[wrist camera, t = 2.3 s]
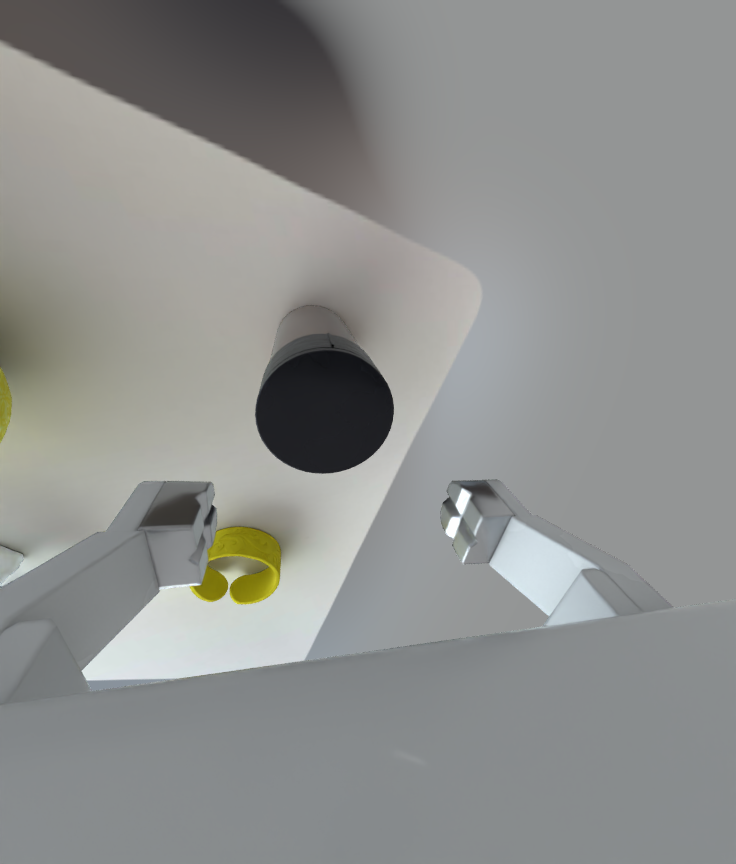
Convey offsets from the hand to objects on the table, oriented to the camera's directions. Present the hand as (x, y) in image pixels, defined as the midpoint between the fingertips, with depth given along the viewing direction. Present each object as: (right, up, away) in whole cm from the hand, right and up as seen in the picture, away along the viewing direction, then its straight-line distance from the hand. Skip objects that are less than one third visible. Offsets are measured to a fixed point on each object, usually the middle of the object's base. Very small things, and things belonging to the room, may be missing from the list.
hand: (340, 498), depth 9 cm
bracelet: (-12, -10, +23) cm, 28 cm away
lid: (-1, +4, +6) cm, 8 cm away
